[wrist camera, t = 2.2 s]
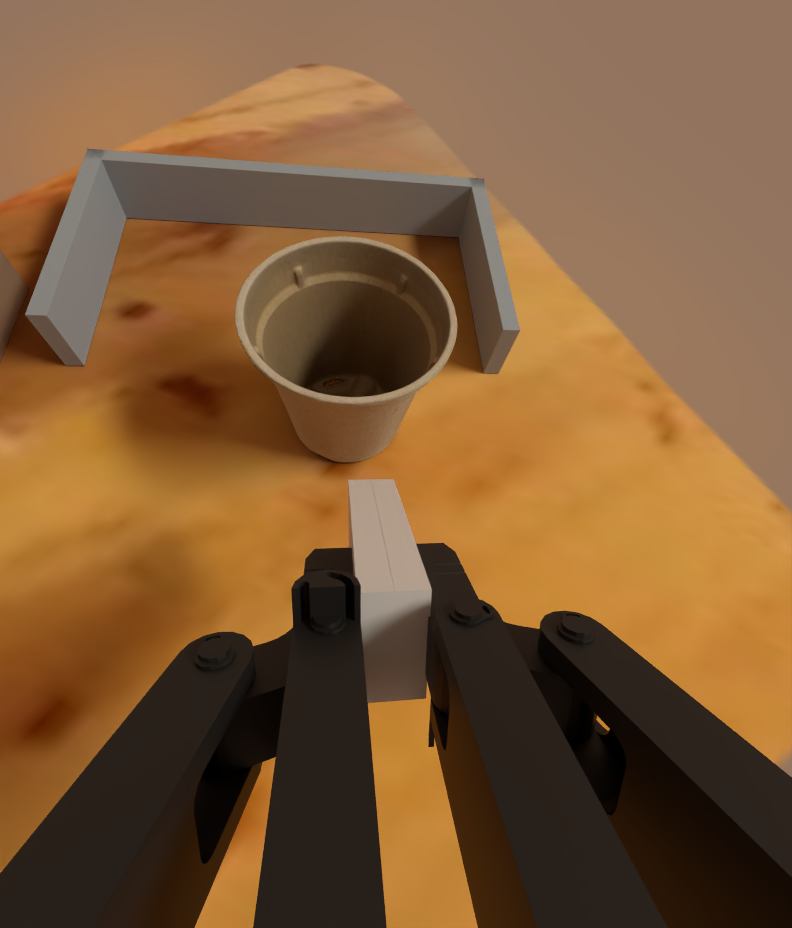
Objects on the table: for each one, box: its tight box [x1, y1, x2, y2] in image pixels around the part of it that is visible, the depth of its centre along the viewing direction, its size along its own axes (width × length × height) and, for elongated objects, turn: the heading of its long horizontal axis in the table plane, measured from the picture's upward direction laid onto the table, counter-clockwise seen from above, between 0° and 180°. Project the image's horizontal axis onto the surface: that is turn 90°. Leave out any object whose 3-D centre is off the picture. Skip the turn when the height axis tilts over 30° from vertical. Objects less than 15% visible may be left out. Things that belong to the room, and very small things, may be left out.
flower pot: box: [235, 236, 457, 462], centre depth 24 cm, size 9×9×9 cm
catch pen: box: [25, 149, 520, 373], centre depth 30 cm, size 26×14×4 cm, turn 94°
